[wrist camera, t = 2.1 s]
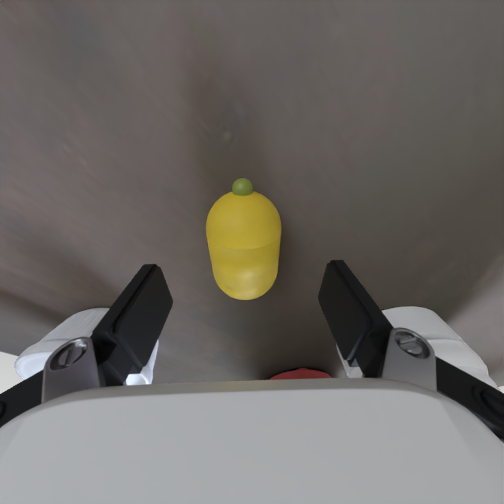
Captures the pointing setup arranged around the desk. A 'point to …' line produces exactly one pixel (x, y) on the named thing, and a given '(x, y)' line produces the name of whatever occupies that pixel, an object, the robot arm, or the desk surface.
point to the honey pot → (433, 341)
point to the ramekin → (66, 331)
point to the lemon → (244, 241)
